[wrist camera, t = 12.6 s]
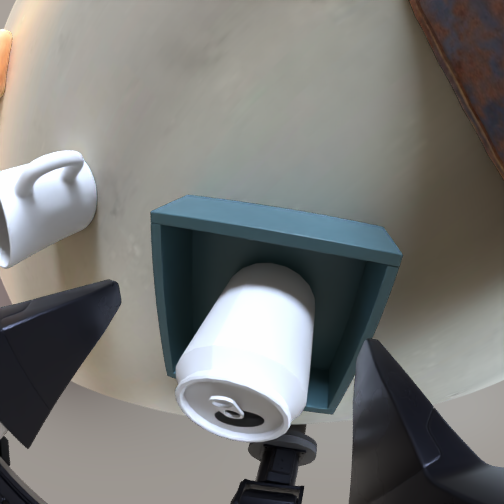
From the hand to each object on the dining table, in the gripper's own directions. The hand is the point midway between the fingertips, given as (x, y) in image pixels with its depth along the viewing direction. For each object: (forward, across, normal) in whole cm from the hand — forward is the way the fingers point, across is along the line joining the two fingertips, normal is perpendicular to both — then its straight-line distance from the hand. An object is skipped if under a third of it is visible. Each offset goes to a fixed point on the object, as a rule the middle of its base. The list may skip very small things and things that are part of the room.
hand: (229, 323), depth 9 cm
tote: (+13, 0, +7) cm, 15 cm away
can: (+13, 0, +7) cm, 14 cm away
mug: (+13, +21, -1) cm, 25 cm away
